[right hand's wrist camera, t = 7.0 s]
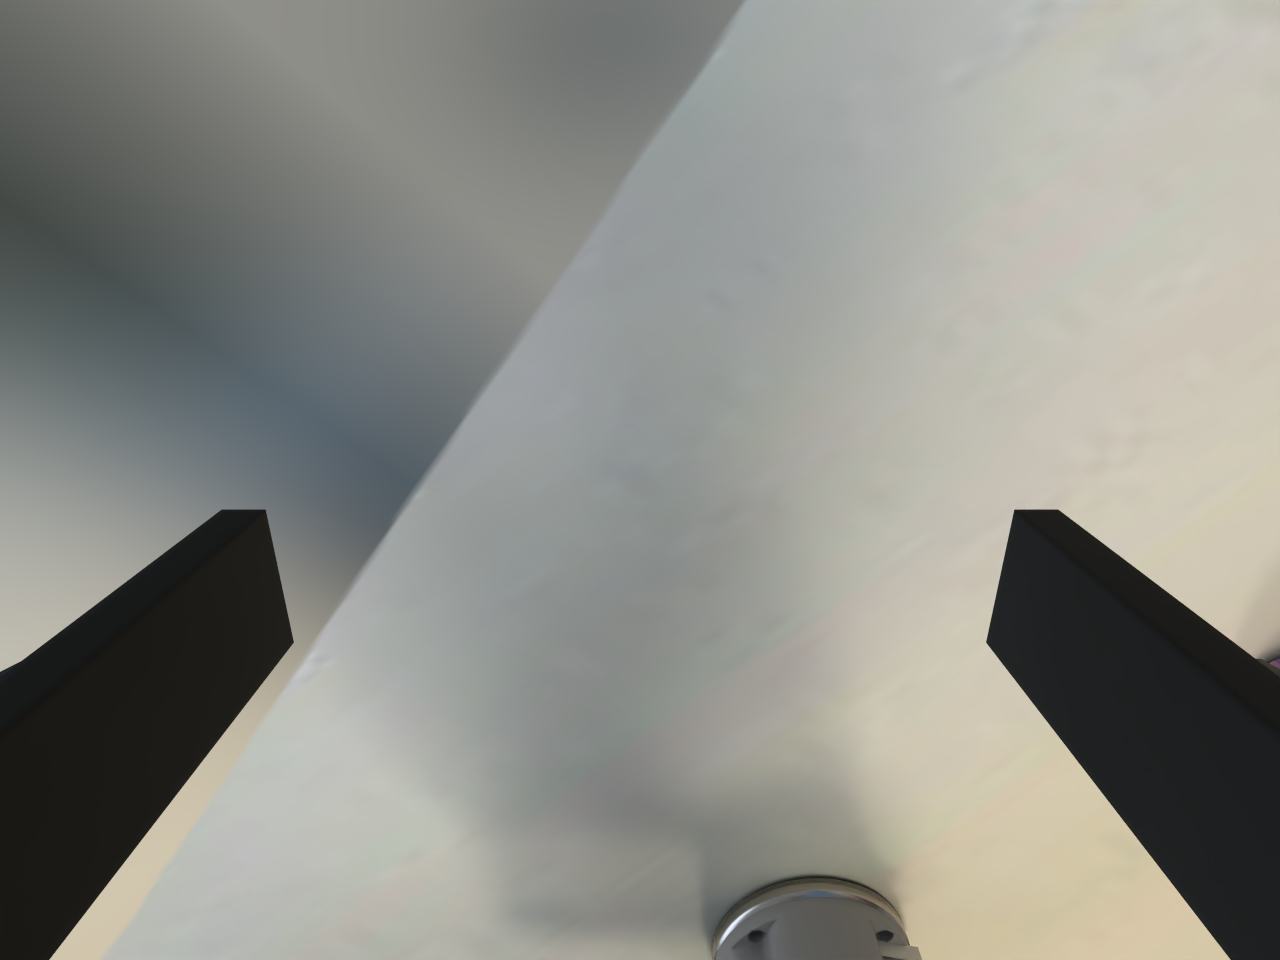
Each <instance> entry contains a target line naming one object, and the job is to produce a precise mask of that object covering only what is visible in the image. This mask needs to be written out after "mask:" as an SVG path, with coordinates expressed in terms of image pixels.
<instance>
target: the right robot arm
mask: <svg viewBox="0 0 1280 960" xmlns="http://www.w3.org/2000/svg"><path fill="white" fill-rule="evenodd" d="M293 643H294V641H293V637H292V632H291V627H290V623H289V618H288V613H287V608H286V604H285V599H284V594H283V590H282V585H281V580H280V575H279V571H278V566H277V561H276V557H275V552H274V547H273V542H272V538H271V533H270V528H269V524H268V519H267V514H266V510H221V511H219V512H218V513H217V514H215V515H214V516H213V517H211V518H210V519H209V520H208V521H206V522H205V523H204V524H202V525H201V526H200V527H198V528H197V529H196V530H194V531H193V532H192V533H190V534H189V535H188V536H186V537H185V538H184V539H182V540H181V541H180V542H178V543H177V544H176V545H174V546H173V547H172V548H171V549H169V550H168V551H167V552H165V553H164V554H163V555H161V556H160V557H159V558H157V559H156V560H155V561H153V562H152V563H151V564H149V565H148V566H147V567H145V568H144V569H143V570H141V571H140V572H139V573H137V574H136V575H135V576H133V577H132V578H131V579H129V580H128V581H127V582H126V583H124V584H123V585H122V586H120V587H119V588H118V589H116V590H115V591H114V592H112V593H111V594H110V595H108V596H107V597H106V598H104V599H103V600H102V601H100V602H99V603H98V604H96V605H95V606H94V607H93V608H91V609H90V610H88V611H87V612H86V613H85V614H83V615H82V616H81V617H79V618H78V619H77V620H75V621H74V622H73V623H71V624H70V625H69V626H67V627H66V628H65V629H63V630H62V631H61V632H59V633H58V634H57V635H55V636H54V637H53V638H51V639H50V640H49V641H48V642H46V643H45V644H44V645H42V646H41V647H40V648H38V649H37V650H36V651H34V652H33V653H32V654H30V655H29V656H28V657H26V658H25V659H24V660H22V661H21V662H19V663H17V664H15V665H13V666H11V667H9V668H7V669H5V670H3V671H1V672H0V960H49V959H50V958H51V957H52V955H53V954H54V953H55V951H56V950H57V949H58V948H59V946H60V945H61V944H62V942H63V941H64V940H65V939H66V937H67V936H68V935H69V933H70V932H71V931H72V929H73V928H74V927H75V926H76V924H77V923H78V922H79V920H80V919H81V918H82V916H83V915H84V914H85V913H86V911H87V910H88V909H89V907H90V906H91V905H92V904H93V902H94V901H95V900H96V898H97V897H98V896H99V894H100V893H101V892H102V890H103V889H104V888H105V887H106V885H107V884H108V883H109V881H110V880H111V879H112V878H113V876H114V875H115V874H116V872H117V871H118V870H119V868H120V867H121V866H122V865H123V863H124V862H125V861H126V859H127V858H128V857H129V856H130V854H131V853H132V852H133V850H134V849H135V848H136V846H137V845H138V844H139V843H140V841H141V840H142V839H143V837H144V836H145V835H146V833H147V832H148V831H149V830H150V828H151V827H152V826H153V824H154V823H155V822H156V821H157V819H158V818H159V817H160V815H161V814H162V813H163V811H164V810H165V809H166V808H167V806H168V805H169V804H170V802H171V801H172V800H173V798H174V797H175V796H176V795H177V793H178V792H179V791H180V789H181V788H182V787H183V785H184V784H185V783H186V782H187V780H188V779H189V778H190V776H191V775H192V774H193V773H194V771H195V770H196V769H197V767H198V766H199V765H200V763H201V762H202V761H203V759H204V758H205V757H206V756H207V754H208V753H209V752H210V750H211V749H212V748H213V747H214V745H215V744H216V743H217V741H218V740H219V739H220V738H221V736H222V735H223V734H224V732H225V731H226V730H227V728H228V727H229V726H230V725H231V723H232V722H233V721H234V719H235V718H236V717H237V715H238V714H239V713H240V712H241V710H242V709H243V708H244V706H245V705H246V704H247V702H248V701H249V700H250V699H251V697H252V696H253V695H254V693H255V692H256V691H257V690H258V688H259V687H260V686H261V684H262V683H263V682H264V680H265V679H266V678H267V677H268V675H269V674H270V673H271V671H272V670H273V669H274V667H275V666H276V665H277V664H278V662H279V661H280V660H281V658H282V657H283V656H284V654H285V653H286V652H287V650H288V649H289V648H290V647H291V645H292V644H293ZM986 643H987V644H988V645H989V647H990V648H991V649H992V651H993V652H994V653H995V654H996V656H997V657H998V658H999V660H1000V661H1001V662H1002V664H1003V665H1004V666H1005V667H1006V669H1007V670H1008V671H1009V673H1010V674H1011V675H1012V677H1013V678H1014V679H1015V680H1016V682H1017V683H1018V684H1019V686H1020V687H1021V688H1022V690H1023V691H1024V692H1025V693H1026V695H1027V696H1028V697H1029V699H1030V700H1031V701H1032V702H1033V704H1034V705H1035V706H1036V708H1037V709H1038V710H1039V712H1040V713H1041V714H1042V715H1043V717H1044V718H1045V719H1046V721H1047V722H1048V723H1049V725H1050V726H1051V727H1052V728H1053V730H1054V731H1055V732H1056V734H1057V735H1058V736H1059V738H1060V739H1061V740H1062V741H1063V743H1064V744H1065V745H1066V747H1067V748H1068V749H1069V750H1070V752H1071V753H1072V754H1073V756H1074V757H1075V758H1076V760H1077V761H1078V762H1079V763H1080V765H1081V766H1082V767H1083V769H1084V770H1085V771H1086V773H1087V774H1088V775H1089V776H1090V778H1091V779H1092V780H1093V782H1094V783H1095V784H1096V786H1097V787H1098V788H1099V789H1100V791H1101V792H1102V793H1103V795H1104V796H1105V797H1106V798H1107V800H1108V801H1109V802H1110V804H1111V805H1112V806H1113V808H1114V809H1115V810H1116V811H1117V813H1118V814H1119V815H1120V817H1121V818H1122V819H1123V821H1124V822H1125V823H1126V824H1127V826H1128V827H1129V828H1130V830H1131V831H1132V832H1133V833H1134V835H1135V836H1136V837H1137V839H1138V840H1139V841H1140V843H1141V844H1142V845H1143V846H1144V848H1145V849H1146V850H1147V852H1148V853H1149V854H1150V856H1151V857H1152V858H1153V859H1154V861H1155V862H1156V863H1157V865H1158V866H1159V867H1160V869H1161V870H1162V871H1163V872H1164V874H1165V875H1166V876H1167V878H1168V879H1169V880H1170V881H1171V883H1172V884H1173V885H1174V887H1175V888H1176V889H1177V891H1178V892H1179V893H1180V894H1181V896H1182V897H1183V898H1184V900H1185V901H1186V902H1187V904H1188V905H1189V906H1190V907H1191V909H1192V910H1193V911H1194V913H1195V914H1196V915H1197V917H1198V918H1199V919H1200V920H1201V922H1202V923H1203V924H1204V926H1205V927H1206V928H1207V929H1208V931H1209V932H1210V933H1211V935H1212V936H1213V937H1214V939H1215V940H1216V941H1217V942H1218V944H1219V945H1220V946H1221V948H1222V949H1223V950H1224V952H1225V953H1226V954H1227V955H1228V957H1229V958H1230V959H1231V960H1280V669H1279V668H1277V667H1275V666H1273V665H1271V664H1269V663H1267V662H1265V661H1263V660H1261V659H1255V658H1254V657H1252V656H1251V655H1250V654H1248V653H1247V652H1246V651H1244V650H1243V649H1242V648H1240V647H1239V646H1238V645H1236V644H1235V643H1234V642H1232V641H1231V640H1230V639H1229V638H1227V637H1226V636H1225V635H1223V634H1222V633H1221V632H1219V631H1218V630H1217V629H1215V628H1214V627H1213V626H1211V625H1210V624H1209V623H1207V622H1206V621H1205V620H1203V619H1202V618H1201V617H1199V616H1198V615H1197V614H1195V613H1194V612H1193V611H1192V610H1190V609H1189V608H1188V607H1186V606H1185V605H1184V604H1182V603H1181V602H1180V601H1178V600H1177V599H1176V598H1174V597H1173V596H1172V595H1170V594H1169V593H1168V592H1166V591H1165V590H1164V589H1162V588H1161V587H1160V586H1158V585H1157V584H1156V583H1154V582H1153V581H1152V580H1151V579H1149V578H1148V577H1147V576H1145V575H1144V574H1143V573H1141V572H1140V571H1139V570H1137V569H1136V568H1135V567H1133V566H1132V565H1131V564H1129V563H1128V562H1127V561H1125V560H1124V559H1123V558H1121V557H1120V556H1119V555H1117V554H1116V553H1115V552H1114V551H1112V550H1111V549H1110V548H1108V547H1107V546H1106V545H1104V544H1103V543H1102V542H1100V541H1099V540H1098V539H1096V538H1095V537H1094V536H1092V535H1091V534H1090V533H1088V532H1087V531H1086V530H1084V529H1083V528H1082V527H1080V526H1079V525H1078V524H1076V523H1075V522H1074V521H1073V520H1071V519H1070V518H1069V517H1067V516H1066V515H1065V514H1063V513H1062V512H1061V511H1059V510H1014V514H1013V519H1012V524H1011V528H1010V533H1009V538H1008V542H1007V547H1006V552H1005V557H1004V561H1003V566H1002V571H1001V575H1000V580H999V585H998V589H997V594H996V599H995V604H994V608H993V613H992V618H991V622H990V627H989V632H988V637H987V641H986ZM712 959H713V960H922V958H921V955H920V952H919V950H918V947H913V946H910V944H909V941H908V938H907V935H906V933H905V930H904V927H903V924H902V922H901V919H900V917H899V915H898V914H897V912H896V911H895V909H894V908H893V907H892V906H891V905H890V904H889V903H888V902H887V901H886V900H885V899H884V898H882V897H881V896H879V895H878V894H876V893H875V892H873V891H871V890H869V889H867V888H865V887H862V886H860V885H857V884H854V883H850V882H847V881H842V880H836V879H827V878H806V879H797V880H791V881H786V882H782V883H778V884H775V885H772V886H769V887H766V888H764V889H761V890H759V891H757V892H755V893H753V894H751V895H750V896H748V897H746V898H745V899H743V900H742V901H741V902H739V903H738V904H737V905H735V906H734V907H733V908H732V909H731V910H730V911H729V912H728V913H727V914H726V915H725V917H724V918H723V919H722V921H721V922H720V924H719V926H718V927H717V930H716V932H715V934H714V938H713V943H712Z"/></svg>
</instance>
